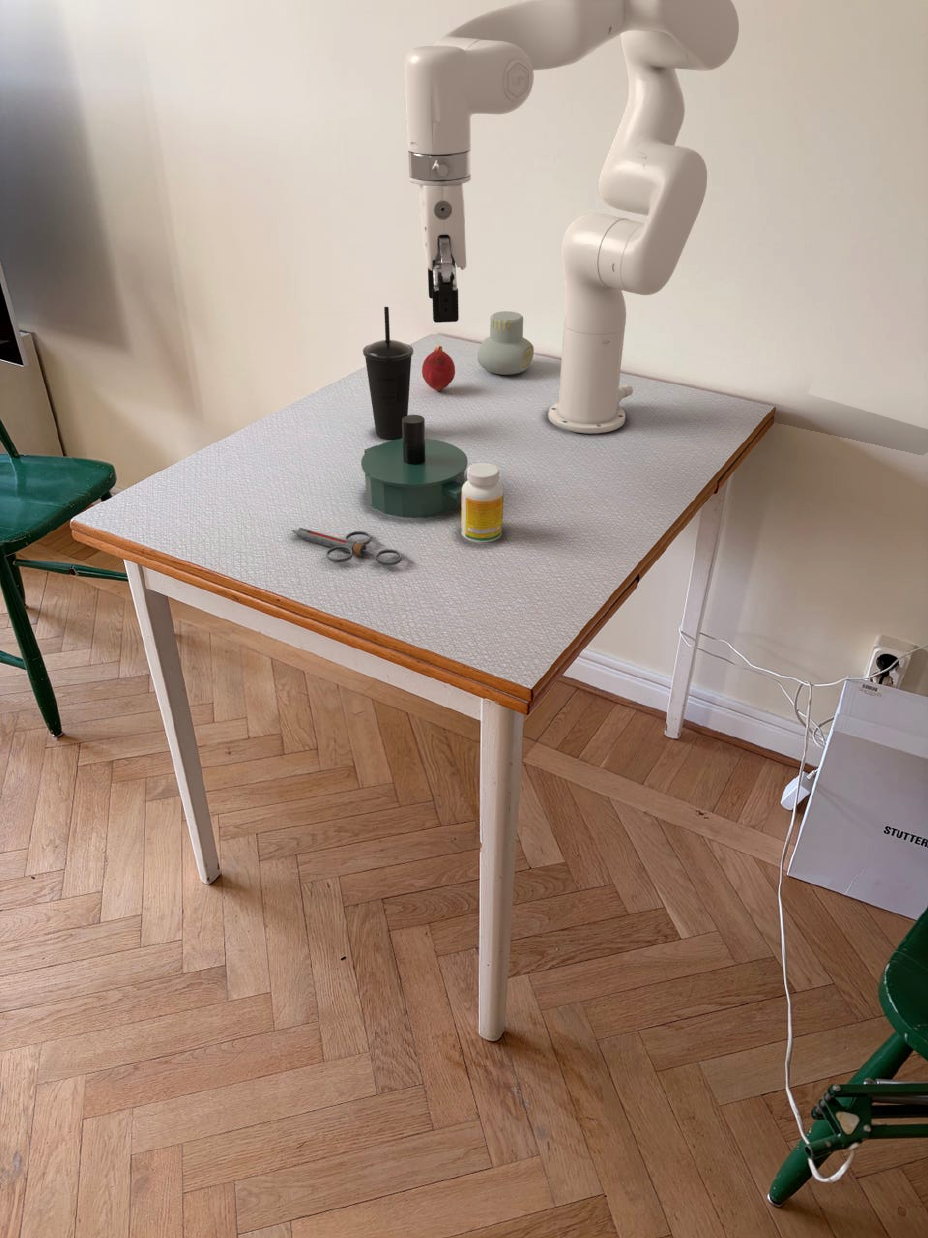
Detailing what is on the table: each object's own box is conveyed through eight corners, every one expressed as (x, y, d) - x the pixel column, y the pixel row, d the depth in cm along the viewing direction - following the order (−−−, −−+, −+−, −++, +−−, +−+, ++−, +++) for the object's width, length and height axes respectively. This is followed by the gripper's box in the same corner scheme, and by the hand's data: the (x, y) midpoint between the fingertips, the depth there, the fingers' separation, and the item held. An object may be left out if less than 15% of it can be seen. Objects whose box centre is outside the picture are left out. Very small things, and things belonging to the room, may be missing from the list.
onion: (454, 397, 163) (454, 352, 158) (421, 397, 163) (420, 351, 159) (455, 385, 168) (455, 340, 163) (423, 384, 168) (422, 340, 163)
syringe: (299, 520, 127) (298, 509, 126) (415, 552, 120) (415, 540, 119) (264, 546, 121) (262, 534, 120) (384, 581, 114) (383, 569, 114)
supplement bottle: (454, 530, 125) (454, 464, 119) (490, 522, 127) (492, 456, 121) (472, 549, 121) (473, 481, 115) (509, 540, 123) (511, 473, 117)
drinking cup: (418, 424, 153) (415, 300, 142) (411, 444, 147) (408, 316, 136) (372, 422, 154) (365, 298, 142) (363, 442, 148) (355, 314, 136)
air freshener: (495, 357, 180) (496, 304, 174) (536, 363, 177) (539, 310, 171) (473, 376, 171) (473, 321, 166) (515, 383, 169) (517, 327, 163)
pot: (406, 461, 142) (405, 429, 139) (497, 504, 131) (499, 470, 128) (335, 490, 134) (332, 456, 131) (426, 538, 123) (425, 502, 120)
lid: (418, 436, 138) (417, 390, 134) (489, 467, 130) (490, 419, 126) (339, 466, 130) (336, 418, 126) (410, 502, 121) (409, 451, 117)
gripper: (477, 180, 106) (478, 330, 116) (464, 152, 120) (466, 288, 130) (411, 182, 106) (417, 332, 116) (405, 154, 120) (411, 290, 130)
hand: (443, 309), depth 123 cm, fingers open, 9 cm apart
